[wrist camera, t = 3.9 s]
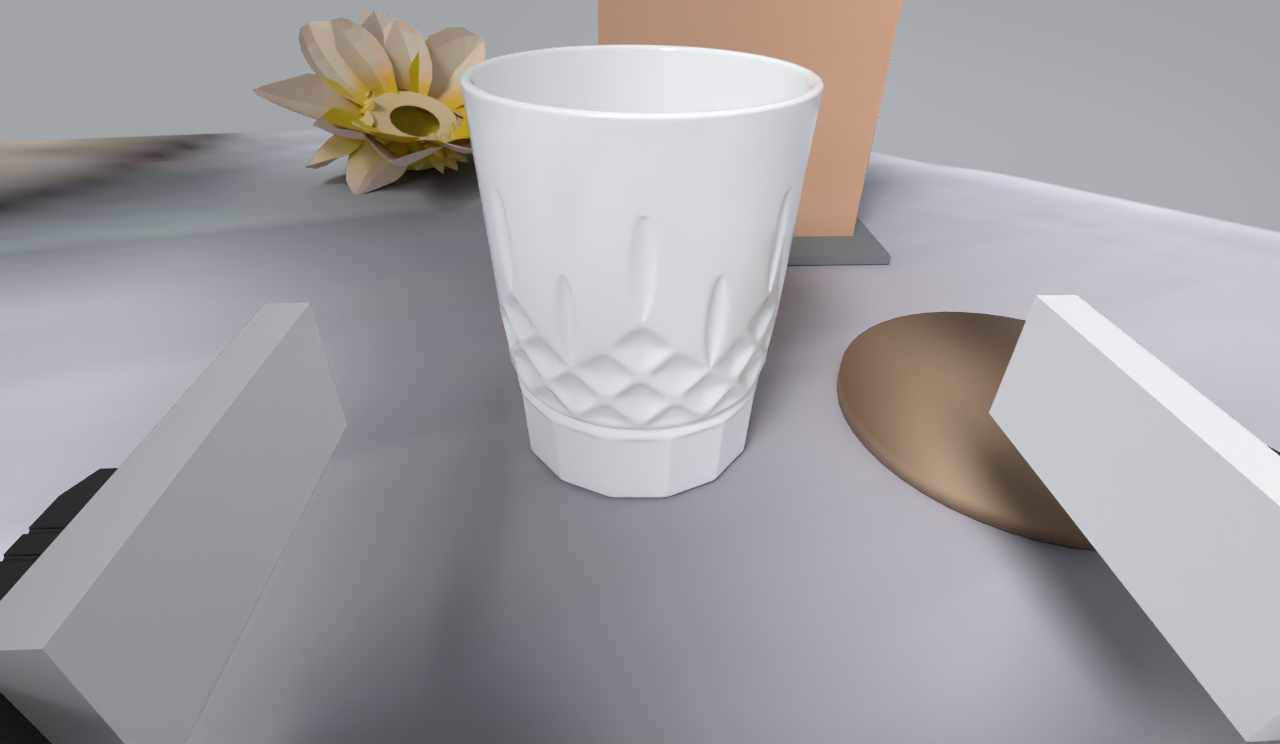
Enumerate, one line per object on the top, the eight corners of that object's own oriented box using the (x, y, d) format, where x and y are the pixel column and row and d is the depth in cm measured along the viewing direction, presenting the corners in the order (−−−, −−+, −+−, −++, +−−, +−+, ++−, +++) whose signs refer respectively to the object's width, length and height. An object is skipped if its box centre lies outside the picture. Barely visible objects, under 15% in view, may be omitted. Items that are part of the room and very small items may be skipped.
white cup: (794, 388, 22) (854, 60, 16) (715, 560, 16) (766, 136, 10) (586, 334, 24) (574, 36, 19) (452, 464, 18) (375, 85, 13)
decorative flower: (327, 210, 29) (260, -46, 26) (267, 202, 38) (210, 6, 34) (591, 170, 38) (569, -26, 35) (496, 170, 46) (470, 12, 43)
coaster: (914, 558, 16) (921, 541, 16) (800, 327, 25) (802, 313, 25) (1341, 544, 16) (1356, 528, 16) (1078, 323, 25) (1084, 309, 25)
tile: (602, 238, 31) (595, -139, 23) (602, 225, 32) (595, -136, 24) (852, 236, 31) (930, -132, 23) (842, 223, 33) (912, -129, 25)
